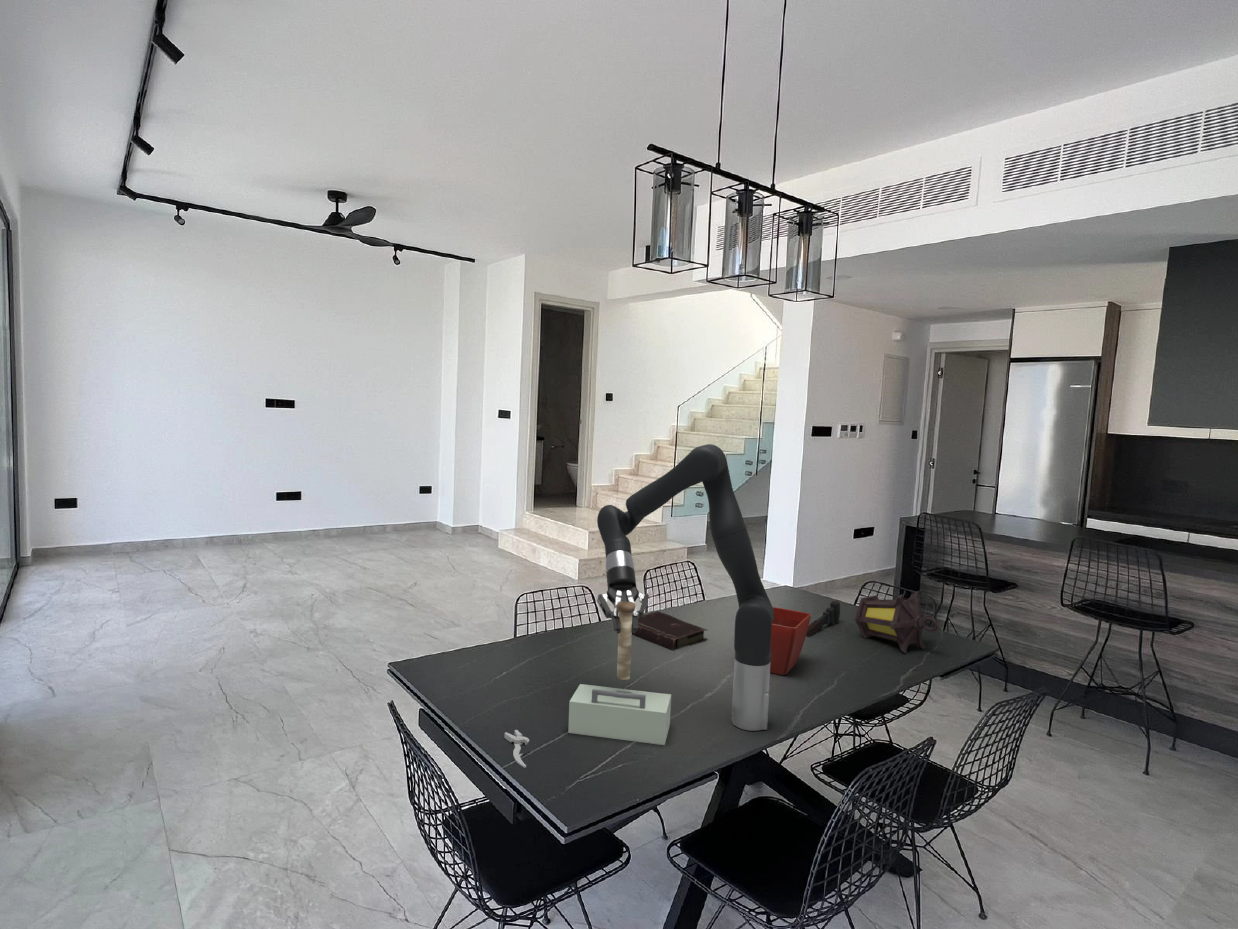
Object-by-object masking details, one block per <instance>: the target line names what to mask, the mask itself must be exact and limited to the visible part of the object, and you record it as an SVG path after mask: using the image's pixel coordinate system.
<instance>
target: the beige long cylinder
mask: <svg viewBox="0 0 1238 929" xmlns="http://www.w3.org/2000/svg"><path fill="white" fill-rule="evenodd" d="M634 603H635V602H634ZM634 603H633V602H628V601H622V602H618V603H617V610H618V611H619V614H618V617H619V618H620V628H621V631H620V633H617V661H616V662H617V664H616V665H617V666H616V678H617V679H619V680H622V681H625V680H630V679H631V669H632V668H631V666H632V665H631V664H632V663H631V662H632V636H633V634H632V614H633V611H634V610H635V607H636V603H635V604H634Z"/></svg>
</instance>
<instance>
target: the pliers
mask: <svg viewBox="0 0 1238 929" xmlns="http://www.w3.org/2000/svg"><path fill="white" fill-rule="evenodd" d="M503 736H504V737H503V738H504V739H506V741H507V742H510V743H513V745H514V749H513V753H512V755H513V759H514V760H515V762H516V763H517V764H518V765H519V766H520V767H522V768H524V769H525V768H527V764H525V763H524V761H523V760H522V757H523V756H524V755H525V753H523V752H522V753H520V752H521V750H522V747H521V745H523V744H524V745H525V746H527V745H528V744H529V742H530V739H529V737H526V736H523V733H521V732H520V731H519V730H518V729H514V732H513V734H511V733H509V732H507V731H506V732H504V735H503Z"/></svg>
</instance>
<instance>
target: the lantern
mask: <svg viewBox="0 0 1238 929" xmlns="http://www.w3.org/2000/svg"><path fill="white" fill-rule="evenodd" d="M922 594H923V592H922V591H921V590H917V591H915V592H914V593H912V594H911V595H910V596H909V597H908V598H907V599H904V597H903V596H904V594H900V595H899V596H897V598H896V599H880V598H879V597H878V595H871V596H866V597H862V598H860V600H859V604H858V607H857V612H856V615H855V622H856V625H857V627H858V629H859V632H860V633H861V635H862V637H863V638H864V639H869V638H873V637H878V638H880V639H885V640H888V641H889V640H890V641H893V642H897V644H898V646H899V648H900V649H899V650H900V651H902V652H903V653H904V654H906V655H908V652H907V650H908V647H909V646H910V645H913V644H915V646H917V647H918V648H920V649H922V650H925V649H926V647H927V646H926V645H925V644H924V642H923V629H925V630H926V631H928V632H936V631H937V630H938V628H939V623H938V621H937V620H936V619H935V618H934V617H933V614H924V612H923V610H922V608H921V606H920V597H921V595H922ZM927 621H929V622H930V621H931V622H933V624H934V626H933V627H928V626H927V624H926V622H927Z"/></svg>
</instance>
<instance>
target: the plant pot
mask: <svg viewBox="0 0 1238 929" xmlns="http://www.w3.org/2000/svg"><path fill="white" fill-rule="evenodd" d="M772 607H773V611H774V620H773V623H772V628H771V645H770V649H771V662H770V674H771V673H773V674H775V675H780V676H785V675H788V673H789V672H790V671H791V670H792V669H793V668H794V667H795V666H796V664H797V662H798V660H799V657H800V655H801V652H802V649H803V647H804V644H805V641H806V637H807V636H806V634H807V630H808V626H809V625H810V621H811V616H812V615H811V613H808V612H805V611H804V612H803V611H797V610H792V609H787V608H782V607H781V608H780V607H776V606H775V607H774V606H772Z"/></svg>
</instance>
